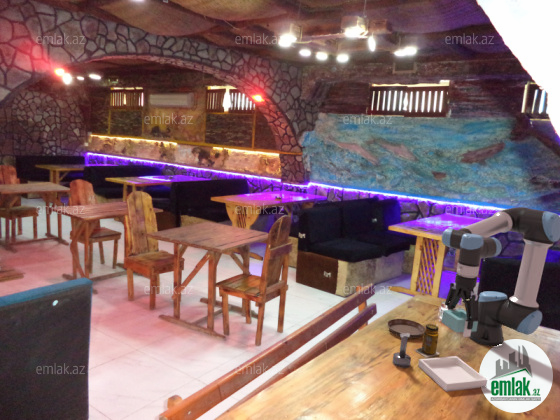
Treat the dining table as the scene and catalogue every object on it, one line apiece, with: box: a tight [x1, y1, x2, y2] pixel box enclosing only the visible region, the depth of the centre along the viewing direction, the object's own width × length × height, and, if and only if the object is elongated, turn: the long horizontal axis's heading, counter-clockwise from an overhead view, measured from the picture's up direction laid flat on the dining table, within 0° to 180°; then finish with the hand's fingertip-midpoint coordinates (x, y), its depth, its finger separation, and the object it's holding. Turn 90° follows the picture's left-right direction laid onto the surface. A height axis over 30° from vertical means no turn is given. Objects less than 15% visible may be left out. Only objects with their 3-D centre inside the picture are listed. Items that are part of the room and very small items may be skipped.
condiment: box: [414, 323, 441, 359], centre depth 192 cm, size 7×8×12 cm
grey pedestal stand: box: [392, 333, 412, 369], centre depth 181 cm, size 7×7×13 cm
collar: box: [441, 308, 478, 333], centre depth 171 cm, size 9×9×5 cm
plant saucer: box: [386, 318, 426, 339], centre depth 212 cm, size 18×18×3 cm
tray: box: [417, 355, 488, 392], centre depth 175 cm, size 18×18×3 cm
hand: (458, 330), depth 172 cm, fingers closed on collar, 9 cm apart
